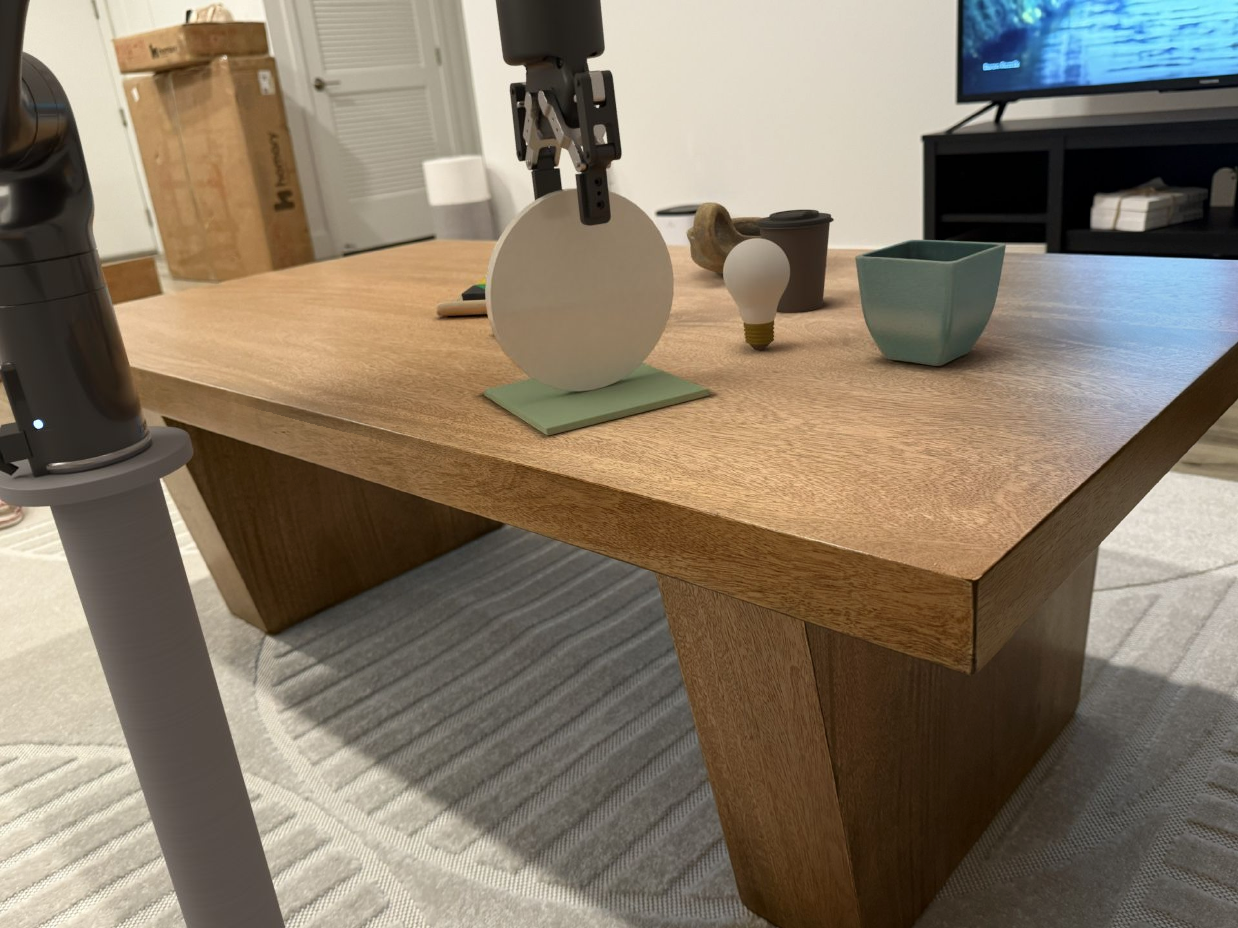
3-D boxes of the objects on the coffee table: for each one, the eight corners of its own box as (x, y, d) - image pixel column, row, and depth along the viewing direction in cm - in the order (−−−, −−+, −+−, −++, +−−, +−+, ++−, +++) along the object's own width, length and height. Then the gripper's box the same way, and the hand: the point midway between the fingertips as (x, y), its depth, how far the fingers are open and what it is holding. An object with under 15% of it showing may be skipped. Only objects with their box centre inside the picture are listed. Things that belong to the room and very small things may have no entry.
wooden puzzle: (433, 320, 118) (428, 291, 116) (493, 288, 134) (489, 262, 133) (571, 315, 113) (567, 284, 111) (616, 282, 129) (613, 255, 128)
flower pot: (1004, 350, 82) (1009, 241, 79) (951, 377, 76) (953, 261, 73) (909, 340, 88) (910, 238, 85) (853, 364, 82) (852, 256, 79)
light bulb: (714, 351, 91) (707, 242, 87) (761, 338, 94) (756, 231, 90) (758, 361, 86) (752, 246, 83) (806, 347, 89) (802, 235, 86)
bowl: (814, 263, 128) (812, 184, 125) (753, 291, 115) (749, 204, 112) (721, 262, 136) (717, 188, 133) (654, 289, 123) (647, 207, 119)
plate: (501, 407, 77) (479, 197, 72) (496, 404, 78) (473, 197, 73) (678, 374, 84) (669, 179, 79) (671, 371, 85) (662, 179, 80)
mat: (547, 436, 73) (546, 428, 72) (484, 395, 85) (483, 389, 84) (709, 395, 78) (708, 388, 78) (628, 363, 90) (627, 356, 90)
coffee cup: (819, 316, 100) (816, 215, 97) (746, 314, 104) (741, 217, 101) (846, 299, 106) (845, 204, 103) (777, 297, 111) (773, 206, 107)
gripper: (466, 6, 75) (495, 222, 81) (536, -22, 63) (565, 234, 69) (555, 0, 78) (578, 209, 84) (639, -27, 66) (659, 219, 72)
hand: (572, 220), depth 76 cm, fingers open, 8 cm apart
